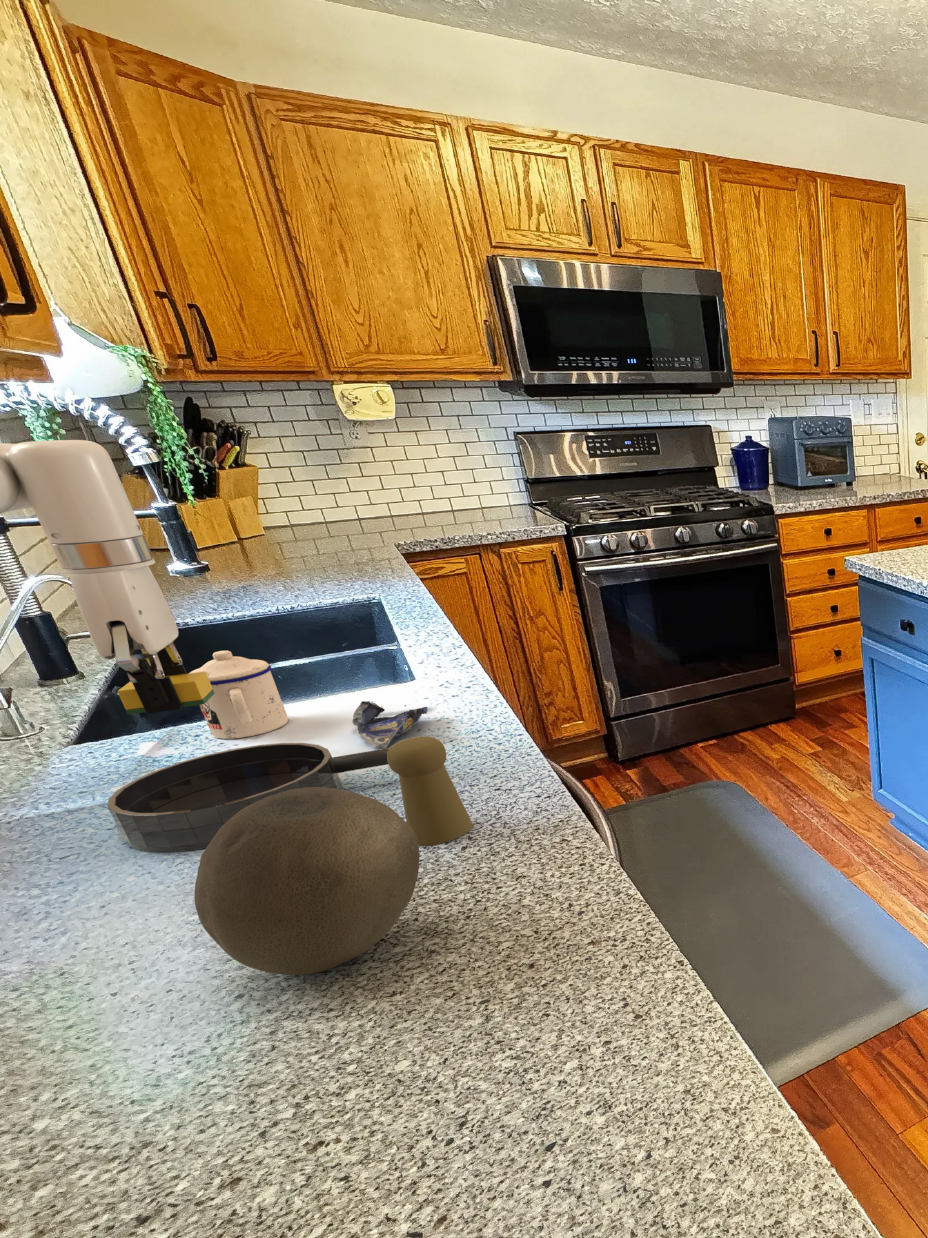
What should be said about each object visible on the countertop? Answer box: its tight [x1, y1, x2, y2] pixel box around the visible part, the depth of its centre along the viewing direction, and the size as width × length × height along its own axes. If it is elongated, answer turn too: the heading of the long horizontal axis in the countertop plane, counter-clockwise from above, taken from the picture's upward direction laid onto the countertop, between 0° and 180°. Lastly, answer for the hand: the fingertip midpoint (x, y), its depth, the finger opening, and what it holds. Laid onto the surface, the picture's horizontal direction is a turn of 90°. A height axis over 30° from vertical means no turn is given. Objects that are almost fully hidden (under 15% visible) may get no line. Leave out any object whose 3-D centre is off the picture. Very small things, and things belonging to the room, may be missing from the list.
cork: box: [387, 735, 474, 847], centre depth 87 cm, size 6×6×11 cm
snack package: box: [351, 700, 428, 749], centre depth 115 cm, size 12×6×12 cm
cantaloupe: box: [193, 787, 420, 976], centre depth 67 cm, size 14×14×15 cm
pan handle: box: [329, 747, 390, 774], centre depth 99 cm, size 12×2×2 cm, turn 119°
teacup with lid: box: [189, 650, 289, 740], centre depth 115 cm, size 12×9×12 cm
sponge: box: [117, 672, 215, 715], centre depth 99 cm, size 7×4×3 cm, turn 119°
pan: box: [107, 742, 343, 853], centre depth 93 cm, size 19×19×4 cm
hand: (171, 702), depth 99 cm, fingers closed on sponge, 4 cm apart
